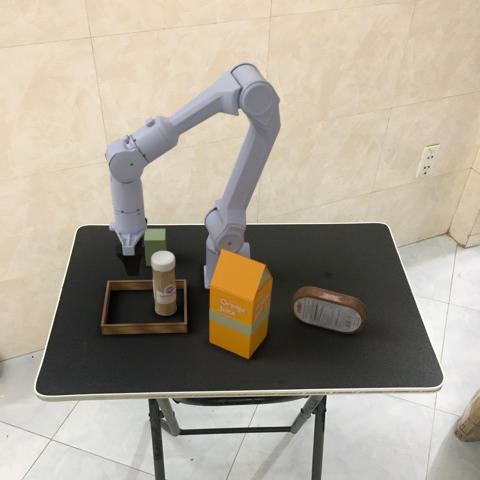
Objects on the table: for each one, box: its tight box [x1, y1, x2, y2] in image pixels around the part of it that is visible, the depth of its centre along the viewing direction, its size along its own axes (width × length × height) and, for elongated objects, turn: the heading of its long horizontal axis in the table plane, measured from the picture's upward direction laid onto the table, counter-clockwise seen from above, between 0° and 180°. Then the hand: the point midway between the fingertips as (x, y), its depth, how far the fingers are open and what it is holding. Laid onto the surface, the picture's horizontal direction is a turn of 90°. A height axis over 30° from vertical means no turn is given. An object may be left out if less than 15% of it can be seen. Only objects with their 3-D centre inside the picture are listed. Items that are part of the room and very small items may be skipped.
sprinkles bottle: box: [150, 250, 178, 317], centre depth 109 cm, size 5×5×13 cm
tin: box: [290, 286, 369, 335], centre depth 109 cm, size 15×3×8 cm, turn 71°
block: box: [143, 228, 168, 267], centre depth 123 cm, size 4×4×7 cm
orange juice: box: [208, 249, 274, 360], centre depth 101 cm, size 8×9×20 cm
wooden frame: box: [100, 278, 188, 336], centre depth 112 cm, size 16×14×2 cm
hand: (134, 263), depth 112 cm, fingers open, 7 cm apart
